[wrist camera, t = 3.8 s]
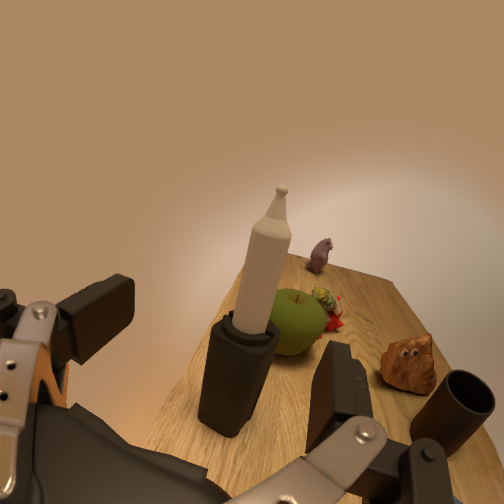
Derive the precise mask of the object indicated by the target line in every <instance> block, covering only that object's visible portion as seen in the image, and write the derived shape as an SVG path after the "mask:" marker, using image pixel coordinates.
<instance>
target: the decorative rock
mask: <svg viewBox="0 0 504 504" xmlns="http://www.w3.org/2000/svg"><path fill="white" fill-rule="evenodd" d="M380 365H381V368H380V370H381V373H382V376H383V379H384V380H385V381H386V383H389V384H391V385H392V386H394V387H396V388H399V389H401V390H408V391H412V392H414V393H418V394H428V393H431V392H432V391H433V389H434V388H435V386H436V379H437V378H436V373H435V371H434V360H433V355H432V336H431V334H430V333H429V334H424V335H421V336H413V337H409V338H406V339H405V340H402V341H400V342H395V343H391V344H390V345H389V347H388V350H387V352H385V353H384V354H382V356H381V362H380Z"/></svg>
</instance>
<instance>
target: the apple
mask: <svg viewBox="0 0 504 504" xmlns="http://www.w3.org/2000/svg"><path fill="white" fill-rule="evenodd" d="M269 319H270V320H271V321H272V322H273V323H274V325H275V326H276V327H277V328H278V329H279V330H280V331H281V337H280V340H279V343H278V346H277V349H276V351H275V353H277V354H281V355H286V356H290V355H297V354H299V353H301V352H303V351H304V350H305V349H307V348H308V347H309V346H311V345H312V344H313V343H314V342H315V341H316V340H317V338H318V337H319V336H320V334H321V333H322V332H323V330H324V329H325V327H326V314H325V310H324V309H323V308H322V306H321V305H320V304H319V303H318V301H317V300H316V299H315V298H313V297H312V296H311V295H309V294H307V293H304V292H302V291H298V290H295V289H280V290H277V292H276V296H275V299H274V303H273V306H272V310H271V313H270V317H269Z"/></svg>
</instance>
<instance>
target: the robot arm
mask: <svg viewBox="0 0 504 504" xmlns="http://www.w3.org/2000/svg"><path fill="white" fill-rule="evenodd" d="M134 299H135V283H134V280H133V279H131V278H128V277H126V276H123V275H120V274H115V275H113V276H111V277H109V278H107V279H106V280H104V281H100V282H96V283H93V284H91V285H89V286H87V287H86V288H85V289H82V290H80V291H79V292H78V293H75V294H73V295H71V296H70V297H68V298H66V299H64V300H63V301H61V302H59V303H57V304H56V305H54V304H52V303H50V302H47V301H38V302H34V303H31V304H29V305H28V306H27V307H25V306H22V305H19V304H17V300H16V295H15V293H14V292H13V291H12V290H9V289H0V504H336V503H337V502H338V501H339V500H340V499H341V498H342V497H343V496H344V495H345V494H346V493H347V492H348V493H351V494H354V495H357V496H360V497H362V504H454V501H453V494H452V487H451V481H450V475H449V470H448V464H447V460H446V455H445V451H444V449H443V448H442V446H441V445H440V444H439V443H438V442H436V441H435V440H433V439H430V438H419V439H417V440H415V441H414V442H413V443H412V444H411V445H410V446H408V445H405V444H402V443H399V442H396V441H393V440H390V439H388V438H387V434H386V431H385V429H384V427H383V426H382V425H381V424H380V423H379V422H378V421H376V420H375V419H374V418H373V411H372V405H371V398H370V392H369V390H368V388H369V386H368V382H367V375H366V370H365V368H364V367H363V365H362V364H361V362H360V361H359V360H356V359H352V357H351V350H350V345H349V344H345V343H340V342H336V341H332V340H330V341H329V342H328V344H327V346H326V349H325V351H324V353H323V356H322V358H321V360H320V362H319V365H318V367H317V369H316V371H315V374H314V377H313V381H312V387H311V400H310V411H309V422H308V432H307V441H306V450H305V453H306V454H308V455H306V456H305V457H303V456H300V457H298V458H296V459H295V460H293V461H292V462H290V463H289V464H288V465H286V466H285V467H283V468H282V469H280V470H279V471H277V472H276V473H274V474H273V475H271V476H270V477H268V478H267V479H265V480H264V481H262V482H260V483H259V484H257V485H256V486H254V487H252V488H251V489H249V490H247V491H245V492H244V493H242V494H240V495H238V496H236V497H235V498H233V499H232V498H231V497H230V495H229V494H228V493H226V492H225V491H224V490H223V489H222V488H221V487H219V486H218V485H217V484H215V483H214V482H212V481H211V480H209V479H207V478H206V476H207V472H208V469H206V468H203V467H201V466H198V465H195V464H192V463H190V462H187V461H184V460H182V459H179V458H177V457H175V456H172V455H169V454H164V453H160V452H156V451H151V450H147V449H143V448H140V447H136V446H133V445H130V444H128V443H127V442H126V441H125V440H124V439H122V438H121V437H120V436H119V435H118V434H117V433H116V432H115V431H114V430H113V429H111V428H110V427H109V426H108V425H107V424H106V423H105V422H104V421H103V420H102V419H100V418H99V417H97V416H96V415H94V414H92V413H91V412H89V411H88V410H86V409H85V408H83V407H82V406H80V405H79V404H77V403H75V404H74V405H73V406H72V407H71V408H70V409H68V408H67V405H66V396H67V382H68V372H69V365H68V361H70V360H71V359H72V360H74V361H75V362H77V363H78V364H80V365H83V364H84V363H85V362H86V361H87V360H88V359H90V358H91V357H92V356H93V355H94V354H95V353H96V352H98V351H99V350H100V349H101V348H102V347H103V346H105V345H106V344H107V343H108V342H109V341H110V340H112V339H113V338H114V337H115V336H116V335H117V334H119V333H120V332H121V331H122V330H123V329H125V328H126V327H127V326H128V325H129V324H130V323H131V321H132V319H133V317H134V311H135V302H134V301H135V300H134Z"/></svg>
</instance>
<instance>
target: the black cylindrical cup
mask: <svg viewBox="0 0 504 504" xmlns="http://www.w3.org/2000/svg"><path fill="white" fill-rule="evenodd" d="M494 408H495V398H494V395H493V393H492V391H491V389H490V388H489V387H488V386H487V384H486V383H485V382H484V381H482V380H481V379H480V378H479V377H477V376H476V375H474V374H472V373H469V372H467V371H464V370H453V371H450V372H449V373H448V374H447V375H446V377H445V378H444V380H443V381H442V383H441V384H440V385H439V387H438V388H437V390H436V391H435V392H434V394H433V395H432V396H431V398H430V399H429V400H428V402H427V403H426V404H425V406H424V407H423V408H422V409H421V411H420V412H419V413H418V414H417V415H416V417H415V418H414V419H413V422H412V425H411V435H412V438H413V441H415V440H417V439H419V438H430V439H433V440H435V441H436V442H438V443H439V444H440V445H441V446H442V448H443V449H444V451H445V455H446V457H449V456H451V455H452V454H454V453H455V452H456V451H457V450H458V449H459V448H460V447H461V446H462V445H463V444H464V443H465V442H466V441H467V440H468V439H469V438H470V437H471V436H472V435H473V434H474V433H475V431H476V430H477V429H478V428H479V427H480V426H481V425H482V424H483V423H484V421H485V420H486V419H487V418H488V417H489V416H490V414H491V413H492V412H493V411H494Z"/></svg>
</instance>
